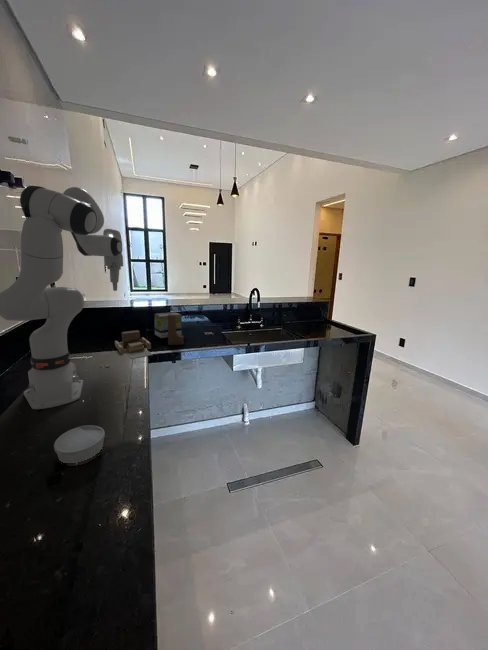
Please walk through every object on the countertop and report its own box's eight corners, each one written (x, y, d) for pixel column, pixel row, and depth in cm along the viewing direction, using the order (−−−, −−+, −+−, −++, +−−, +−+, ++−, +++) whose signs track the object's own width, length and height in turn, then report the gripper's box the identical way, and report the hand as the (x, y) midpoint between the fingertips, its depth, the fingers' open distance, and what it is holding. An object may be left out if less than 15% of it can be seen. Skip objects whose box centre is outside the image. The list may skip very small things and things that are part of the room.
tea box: (161, 338, 172) (160, 316, 169) (154, 335, 180) (153, 313, 176) (182, 335, 182) (181, 314, 179) (175, 332, 189) (174, 311, 186)
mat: (152, 355, 143) (152, 354, 143) (131, 359, 136) (131, 358, 136) (148, 351, 149) (148, 350, 149) (127, 354, 142) (127, 353, 142)
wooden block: (183, 342, 167) (183, 314, 163) (183, 344, 163) (183, 315, 158) (168, 343, 165) (167, 314, 160) (168, 345, 160) (167, 315, 156)
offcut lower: (144, 350, 149) (144, 346, 148) (129, 352, 144) (129, 348, 144) (142, 348, 152) (141, 344, 152) (127, 350, 148) (127, 346, 147)
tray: (151, 349, 152) (150, 343, 151) (120, 354, 143) (120, 347, 142) (143, 342, 164) (142, 336, 163) (114, 346, 155) (114, 340, 154)
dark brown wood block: (140, 345, 157) (139, 331, 155) (124, 348, 151) (123, 333, 149) (138, 344, 159) (137, 330, 157) (122, 346, 154) (121, 332, 152)
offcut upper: (143, 346, 149) (143, 343, 148) (130, 348, 144) (130, 345, 144) (140, 344, 151) (140, 341, 151) (128, 346, 147) (128, 343, 146)
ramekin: (113, 441, 76) (111, 424, 75) (93, 471, 66) (91, 452, 64) (73, 440, 76) (71, 424, 75) (46, 470, 65) (43, 452, 64)
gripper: (120, 264, 131) (122, 292, 134) (120, 261, 149) (121, 286, 152) (106, 263, 128) (107, 292, 132) (107, 261, 146) (109, 286, 150)
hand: (115, 289), depth 142 cm, fingers open, 8 cm apart
